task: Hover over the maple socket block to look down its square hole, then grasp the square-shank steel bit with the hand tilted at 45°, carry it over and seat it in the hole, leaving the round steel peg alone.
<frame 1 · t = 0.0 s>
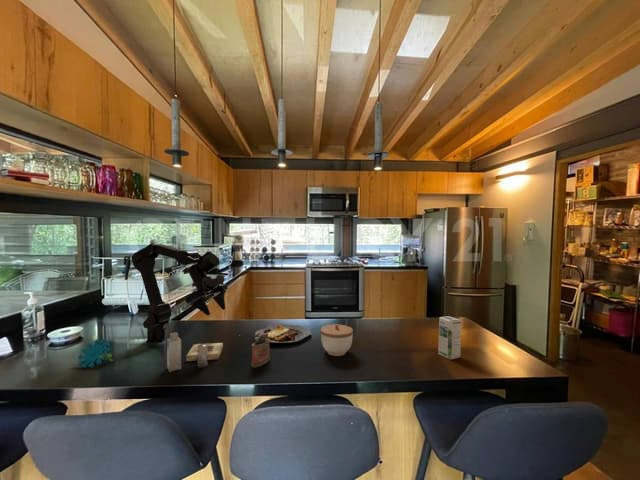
hand: (217, 312, 116), 15 cm above the countertop, tool tilted 35°, fingers open, 9 cm apart
lidded bowl: (336, 352, 115), on the countertop
round peg: (202, 365, 102), on the countertop
lighter: (260, 363, 105), on the countertop
square bit: (174, 368, 100), on the countertop
syrup box: (449, 356, 112), on the countertop
teal lumpy clump: (95, 364, 103), on the countertop
food plate: (282, 337, 132), on the countertop
socket block: (205, 354, 112), on the countertop
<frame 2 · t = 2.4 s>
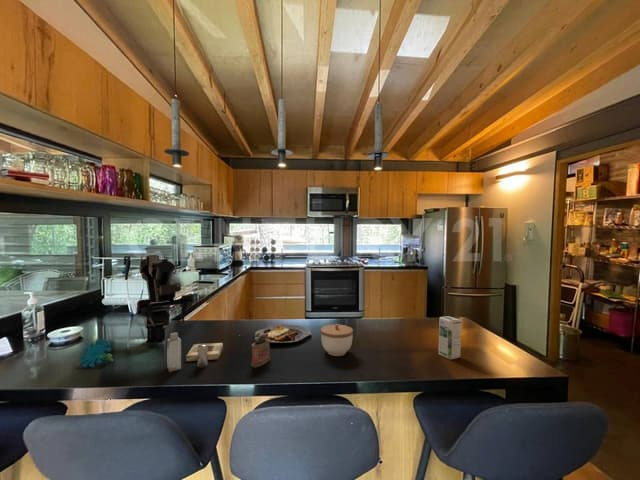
hand: (169, 323, 106), 13 cm above the countertop, tool tilted 45°, fingers open, 9 cm apart
nothing on the countertop moved.
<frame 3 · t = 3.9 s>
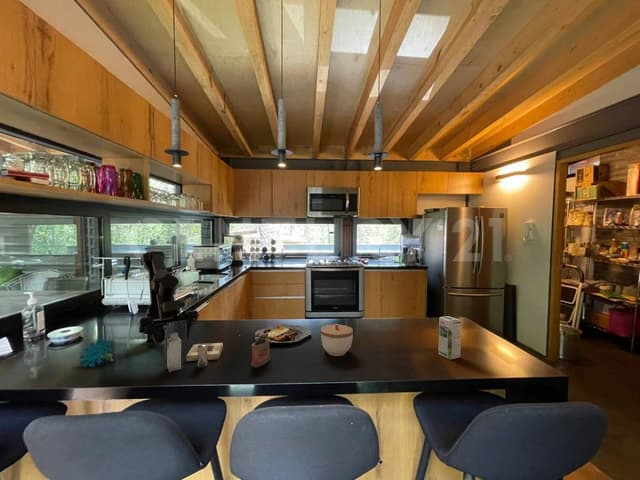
hand: (173, 342, 100), 9 cm above the countertop, tool tilted 45°, fingers open, 9 cm apart
nothing on the countertop moved.
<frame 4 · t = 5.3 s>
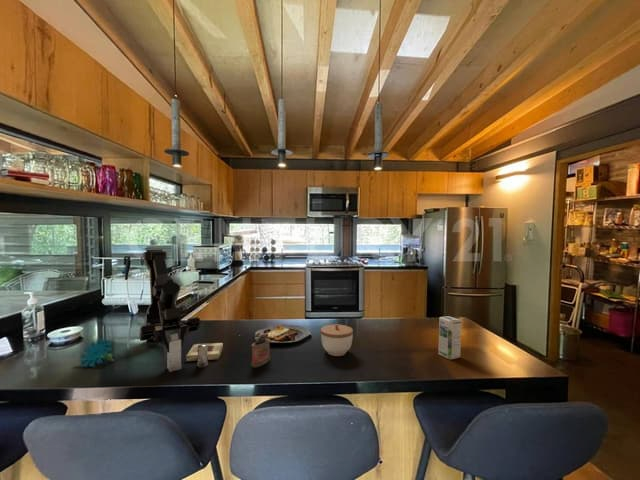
hand: (175, 350, 98), 7 cm above the countertop, tool tilted 45°, fingers closed on square bit, 4 cm apart
square bit: (174, 368, 99), on the countertop, touching gripper
everything else where it was.
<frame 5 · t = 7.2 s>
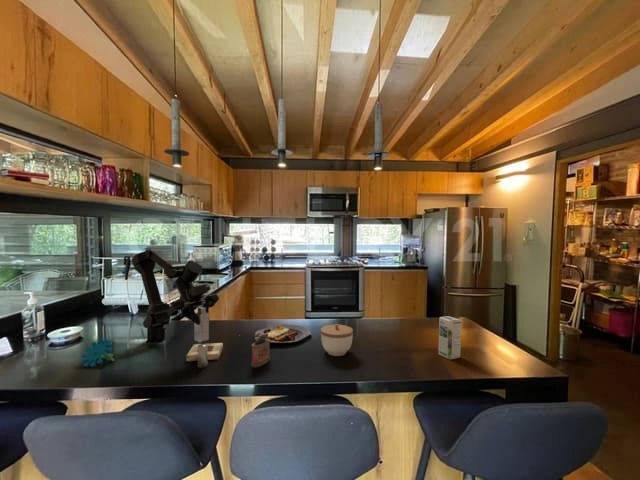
hand: (203, 322, 109), 13 cm above the countertop, tool tilted 45°, fingers closed on square bit, 4 cm apart
square bit: (201, 339, 110), point 6 cm above the countertop, touching gripper
everything else where it was.
when the fingers open (8 cm above the countertop, at t = 8.9 s): square bit drops 1 cm, resting in socket block.
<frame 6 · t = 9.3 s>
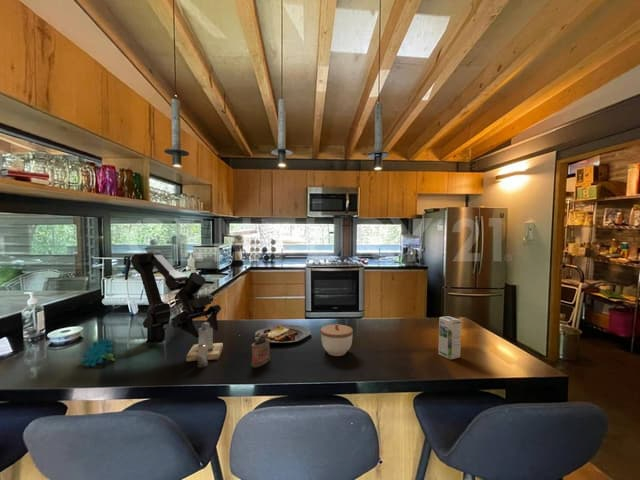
hand: (208, 333, 111), 8 cm above the countertop, tool tilted 45°, fingers open, 8 cm apart
square bit: (205, 354, 112), resting in socket block
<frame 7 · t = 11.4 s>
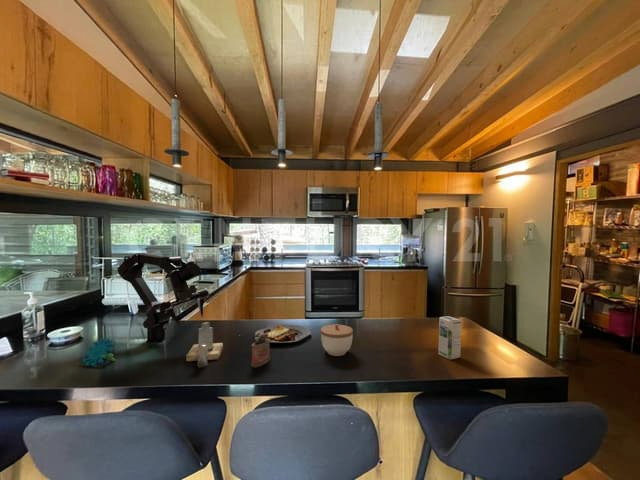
hand: (190, 320, 119), 10 cm above the countertop, tool tilted 25°, fingers open, 9 cm apart
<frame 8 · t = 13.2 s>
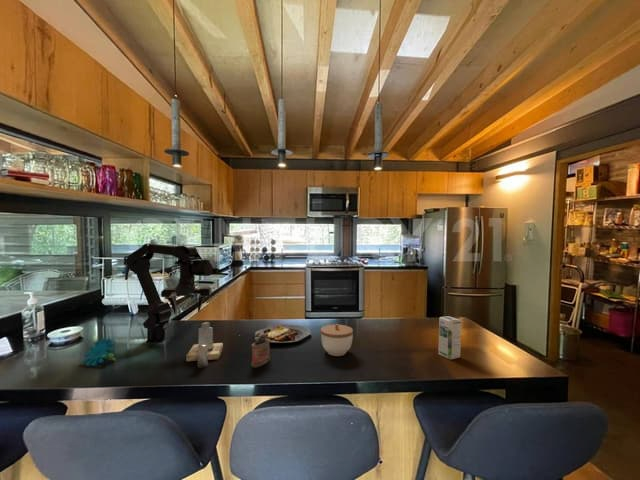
hand: (187, 312, 123), 13 cm above the countertop, tool pointing down, fingers open, 9 cm apart
at the end: square bit 0.0 cm off-centre in the socket block, point 0.0 cm above the socket block's base; square bit tilted 0°; the gripper is holding nothing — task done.
